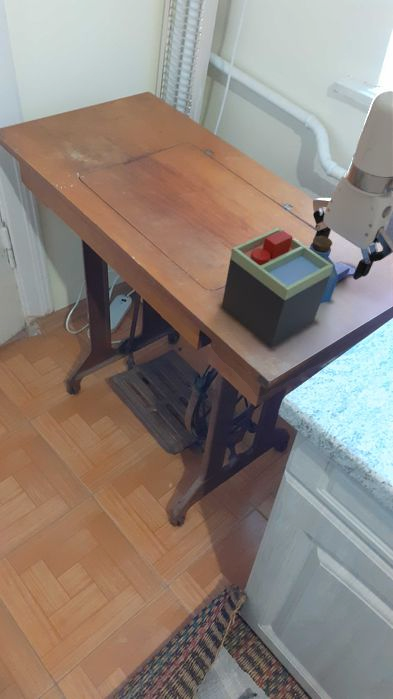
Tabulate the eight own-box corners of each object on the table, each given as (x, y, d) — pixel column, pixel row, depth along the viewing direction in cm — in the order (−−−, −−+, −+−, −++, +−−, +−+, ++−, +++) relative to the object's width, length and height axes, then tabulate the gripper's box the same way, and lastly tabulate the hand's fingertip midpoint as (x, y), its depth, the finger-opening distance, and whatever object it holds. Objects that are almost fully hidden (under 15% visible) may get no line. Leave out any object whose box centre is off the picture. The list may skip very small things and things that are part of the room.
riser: (263, 288, 97) (276, 237, 89) (312, 325, 92) (330, 275, 84) (221, 310, 92) (230, 258, 84) (269, 351, 87) (284, 300, 79)
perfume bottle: (281, 288, 98) (297, 233, 89) (311, 283, 100) (328, 228, 91) (298, 311, 94) (316, 255, 85) (328, 304, 96) (348, 249, 87)
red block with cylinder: (277, 243, 87) (281, 228, 85) (290, 252, 86) (294, 237, 84) (246, 257, 84) (249, 242, 82) (259, 267, 82) (263, 252, 80)
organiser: (276, 237, 89) (278, 227, 88) (330, 275, 84) (333, 265, 82) (230, 258, 84) (232, 248, 83) (284, 300, 79) (287, 290, 77)
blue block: (333, 288, 99) (338, 276, 97) (321, 279, 101) (325, 267, 99) (357, 275, 103) (361, 263, 101) (344, 266, 104) (349, 255, 102)
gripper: (430, 195, 83) (388, 281, 96) (344, 147, 91) (316, 231, 104) (402, 209, 79) (363, 296, 92) (315, 157, 88) (290, 243, 100)
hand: (338, 261), depth 98 cm, fingers open, 9 cm apart
